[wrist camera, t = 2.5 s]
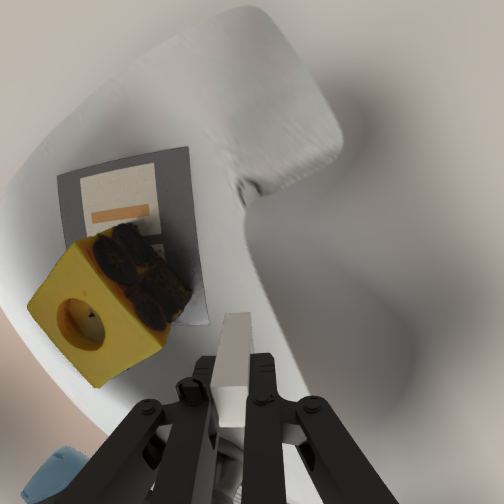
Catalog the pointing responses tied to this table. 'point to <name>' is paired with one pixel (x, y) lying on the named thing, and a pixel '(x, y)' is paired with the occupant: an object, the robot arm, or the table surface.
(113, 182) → the label plate
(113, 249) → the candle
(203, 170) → the table surface
